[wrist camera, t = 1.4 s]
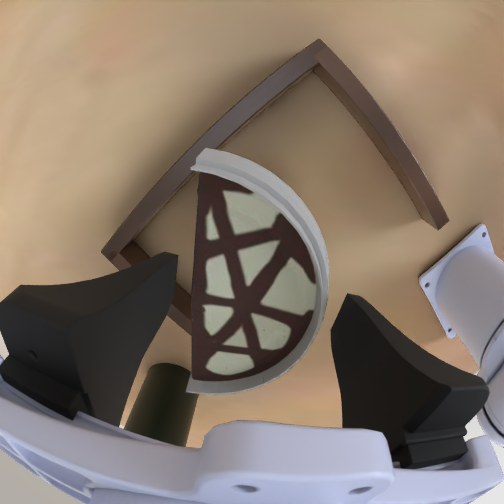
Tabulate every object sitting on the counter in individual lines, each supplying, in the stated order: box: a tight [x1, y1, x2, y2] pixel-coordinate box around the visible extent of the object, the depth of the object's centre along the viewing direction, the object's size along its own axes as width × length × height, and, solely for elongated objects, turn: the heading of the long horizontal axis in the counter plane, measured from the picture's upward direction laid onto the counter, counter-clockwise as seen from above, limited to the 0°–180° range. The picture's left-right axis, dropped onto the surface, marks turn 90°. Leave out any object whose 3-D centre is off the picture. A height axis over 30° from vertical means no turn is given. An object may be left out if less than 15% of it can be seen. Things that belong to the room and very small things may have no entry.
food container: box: [186, 148, 329, 395], centre depth 16 cm, size 12×6×10 cm, turn 173°
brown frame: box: [101, 39, 449, 336], centre depth 19 cm, size 15×20×2 cm
